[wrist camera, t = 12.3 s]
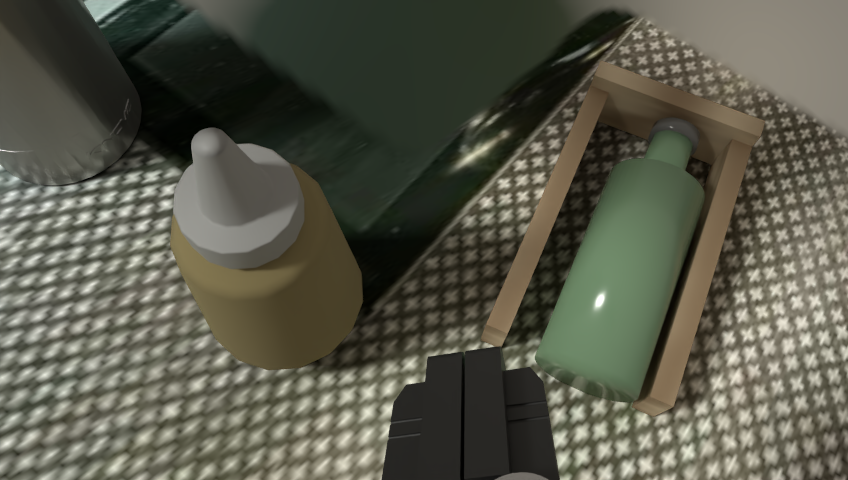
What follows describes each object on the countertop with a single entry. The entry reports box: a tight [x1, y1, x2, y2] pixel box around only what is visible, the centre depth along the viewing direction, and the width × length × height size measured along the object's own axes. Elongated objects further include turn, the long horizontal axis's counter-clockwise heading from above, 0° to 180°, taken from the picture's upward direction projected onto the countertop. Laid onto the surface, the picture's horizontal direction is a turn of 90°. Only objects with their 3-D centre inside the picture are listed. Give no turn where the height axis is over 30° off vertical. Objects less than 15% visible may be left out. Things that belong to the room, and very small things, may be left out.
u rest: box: [481, 61, 765, 417], centre depth 38 cm, size 10×18×4 cm, turn 156°
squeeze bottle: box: [170, 128, 363, 370], centre depth 30 cm, size 8×8×18 cm
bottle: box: [535, 117, 705, 402], centre depth 37 cm, size 5×5×16 cm
